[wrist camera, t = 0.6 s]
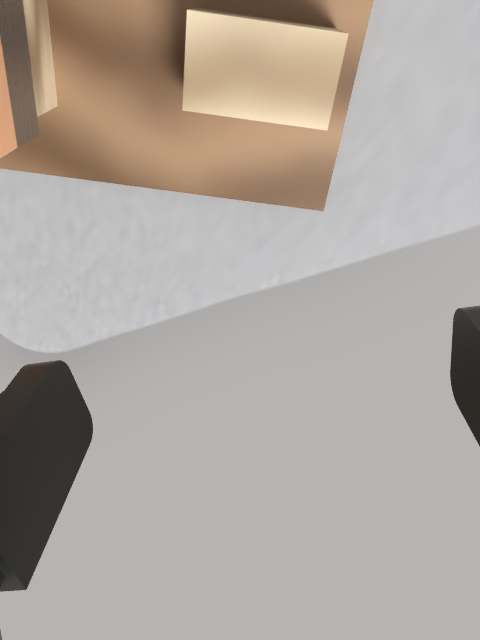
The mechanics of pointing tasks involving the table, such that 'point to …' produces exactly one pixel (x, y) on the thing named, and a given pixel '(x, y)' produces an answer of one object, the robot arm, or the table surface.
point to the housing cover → (5, 113)
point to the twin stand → (193, 94)
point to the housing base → (18, 70)
